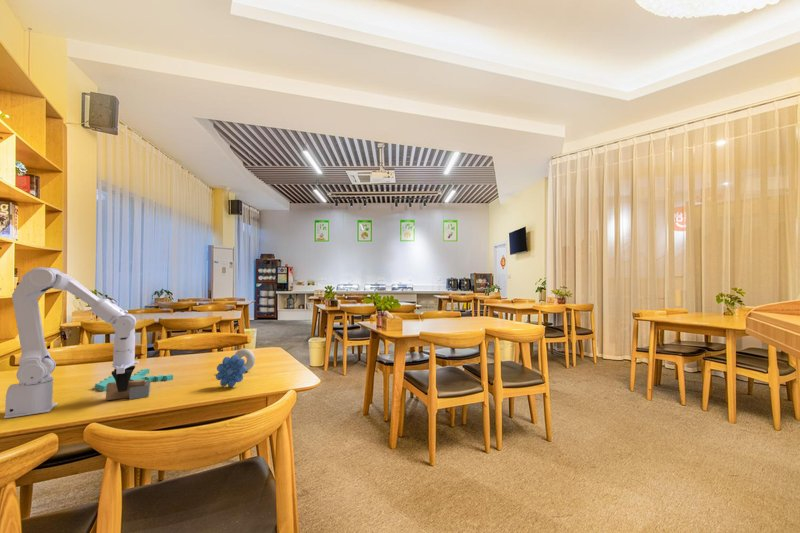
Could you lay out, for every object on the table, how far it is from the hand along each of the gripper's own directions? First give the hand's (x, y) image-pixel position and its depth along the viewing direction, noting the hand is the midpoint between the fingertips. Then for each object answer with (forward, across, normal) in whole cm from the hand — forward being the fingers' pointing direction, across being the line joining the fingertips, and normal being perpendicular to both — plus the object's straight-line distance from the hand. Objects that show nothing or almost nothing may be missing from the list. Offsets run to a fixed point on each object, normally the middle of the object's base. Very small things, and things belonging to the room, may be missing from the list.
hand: (123, 390), depth 115 cm
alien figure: (+3, +20, 0) cm, 20 cm away
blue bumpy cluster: (+3, -5, -33) cm, 34 cm away
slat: (+2, 0, -1) cm, 2 cm away
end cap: (+3, 0, -4) cm, 5 cm away
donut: (+3, +14, -40) cm, 42 cm away
